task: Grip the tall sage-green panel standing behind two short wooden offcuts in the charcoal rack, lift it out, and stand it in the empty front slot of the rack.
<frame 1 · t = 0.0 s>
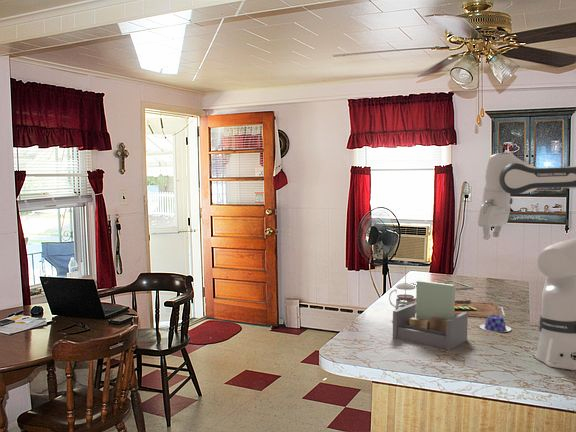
hand: (491, 238, 194), 39 cm above the kitchen island, tool pointing down, fingers open, 8 cm apart
chopping board: (451, 310, 252), on the kitchen island
rack: (429, 342, 200), on the kitchen island
offcut walnut: (440, 340, 198), point 1 cm above the kitchen island, touching rack
tall panel: (434, 336, 203), point 1 cm above the kitchen island, touching rack
french press: (402, 319, 235), on the kitchen island
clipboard: (443, 288, 302), on the kitchen island
pudding: (495, 330, 219), on the kitchen island
offcut oak: (419, 336, 203), point 1 cm above the kitchen island, touching rack
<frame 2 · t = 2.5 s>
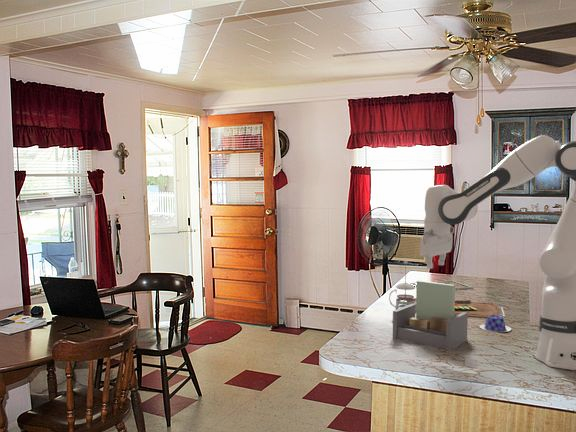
hand: (435, 266, 202), 27 cm above the kitchen island, tool pointing down, fingers open, 8 cm apart
nothing on the kitchen island moved.
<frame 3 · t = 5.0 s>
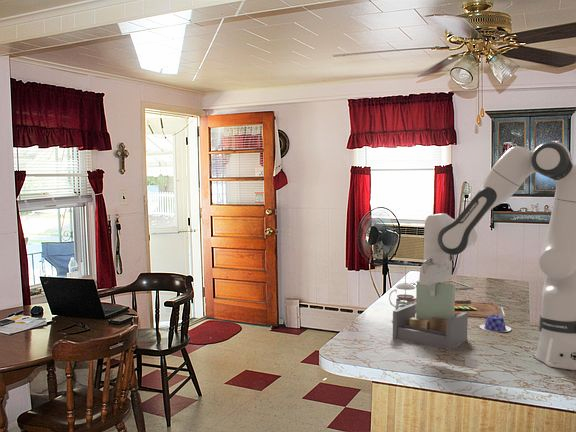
hand: (435, 294, 202), 17 cm above the kitchen island, tool pointing down, fingers closed on tall panel, 2 cm apart
tall panel: (434, 336, 203), point 2 cm above the kitchen island, touching gripper, rack
everything else where it was.
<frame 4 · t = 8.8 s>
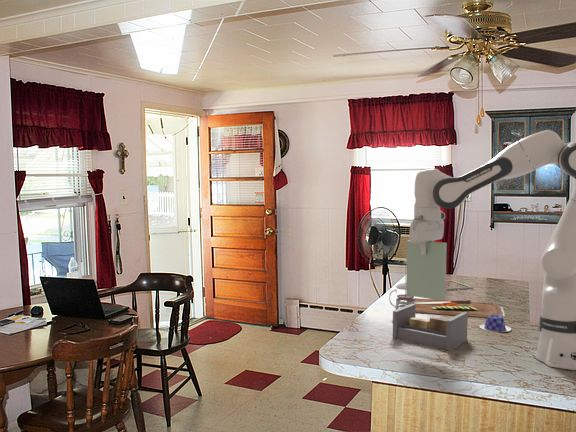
hand: (426, 253, 195), 33 cm above the kitchen island, tool pointing down, fingers closed on tall panel, 2 cm apart
tall panel: (425, 297, 196), point 18 cm above the kitchen island, touching gripper
everything else where it was.
when the fingers open (19 cm above the kitchen island, at t = 12.9 s): tall panel drops 2 cm, resting on rack.
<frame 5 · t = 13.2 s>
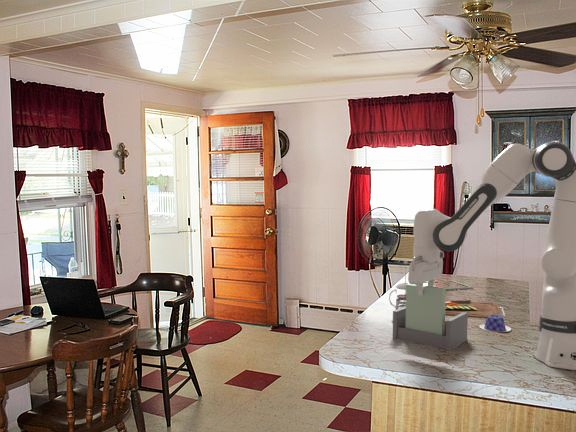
hand: (425, 293, 196), 19 cm above the kitchen island, tool pointing down, fingers open, 5 cm apart
tall panel: (424, 341, 197), point 1 cm above the kitchen island, touching rack
everything else where it was.
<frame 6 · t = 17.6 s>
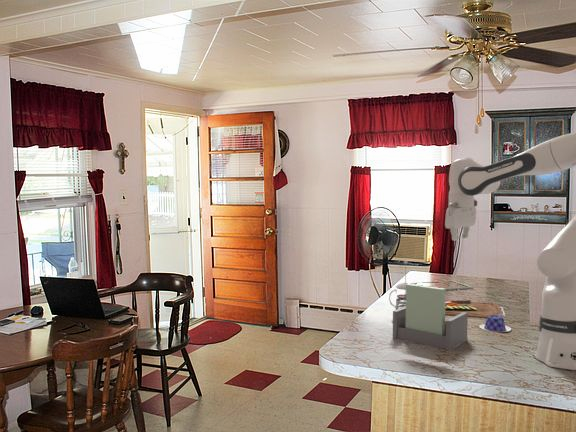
hand: (460, 239, 205), 37 cm above the kitchen island, tool pointing down, fingers open, 8 cm apart
at the end: tall panel 0.1 cm from the target spot on the rack, point 1.5 cm above the rack's base; tall panel tilted 0°; offcut walnut moved 0.0 cm from its start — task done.
